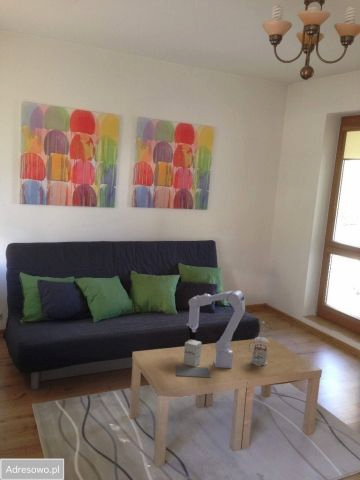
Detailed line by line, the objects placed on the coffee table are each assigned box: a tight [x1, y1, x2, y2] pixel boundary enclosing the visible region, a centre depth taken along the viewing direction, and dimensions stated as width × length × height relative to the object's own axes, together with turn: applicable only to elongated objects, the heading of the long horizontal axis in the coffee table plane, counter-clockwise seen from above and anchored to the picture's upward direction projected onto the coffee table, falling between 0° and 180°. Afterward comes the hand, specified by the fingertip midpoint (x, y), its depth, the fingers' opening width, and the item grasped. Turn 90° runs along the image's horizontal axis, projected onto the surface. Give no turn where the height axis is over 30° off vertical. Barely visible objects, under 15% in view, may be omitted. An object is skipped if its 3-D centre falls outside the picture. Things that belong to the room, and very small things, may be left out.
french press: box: [248, 321, 269, 367], centre depth 244 cm, size 10×12×25 cm
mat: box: [175, 365, 211, 379], centre depth 227 cm, size 18×11×1 cm, turn 92°
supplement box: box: [183, 338, 202, 367], centre depth 236 cm, size 7×7×13 cm
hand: (192, 339), depth 246 cm, fingers open, 5 cm apart
